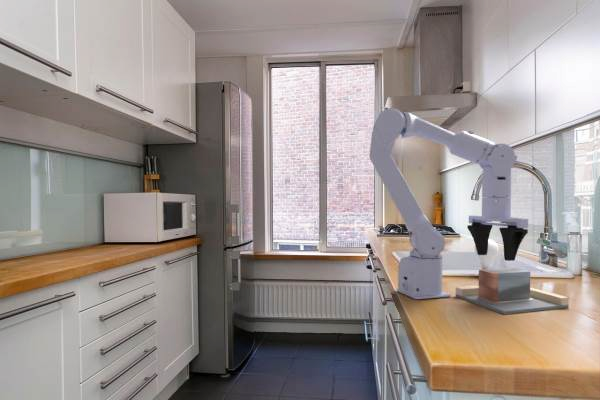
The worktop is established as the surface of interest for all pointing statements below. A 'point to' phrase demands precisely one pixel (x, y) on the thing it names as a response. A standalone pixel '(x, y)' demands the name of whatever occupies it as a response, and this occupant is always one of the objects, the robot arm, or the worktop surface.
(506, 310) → the tray
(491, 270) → the painted block
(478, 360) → the worktop surface
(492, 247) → the lightbulb
